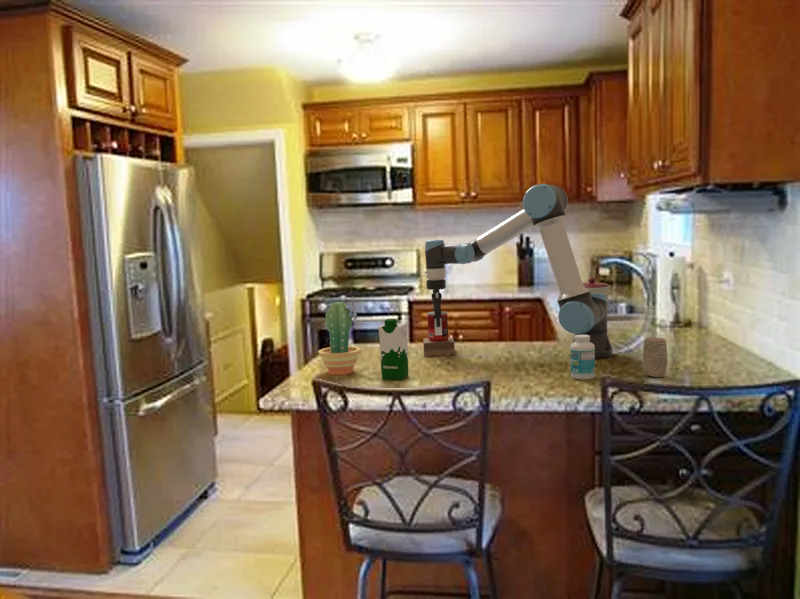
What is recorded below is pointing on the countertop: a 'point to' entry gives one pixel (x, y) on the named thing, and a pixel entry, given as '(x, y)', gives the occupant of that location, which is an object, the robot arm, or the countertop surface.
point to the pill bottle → (582, 358)
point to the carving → (655, 357)
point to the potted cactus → (340, 340)
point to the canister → (597, 287)
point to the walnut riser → (438, 347)
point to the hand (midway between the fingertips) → (438, 332)
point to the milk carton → (393, 350)
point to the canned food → (432, 327)
